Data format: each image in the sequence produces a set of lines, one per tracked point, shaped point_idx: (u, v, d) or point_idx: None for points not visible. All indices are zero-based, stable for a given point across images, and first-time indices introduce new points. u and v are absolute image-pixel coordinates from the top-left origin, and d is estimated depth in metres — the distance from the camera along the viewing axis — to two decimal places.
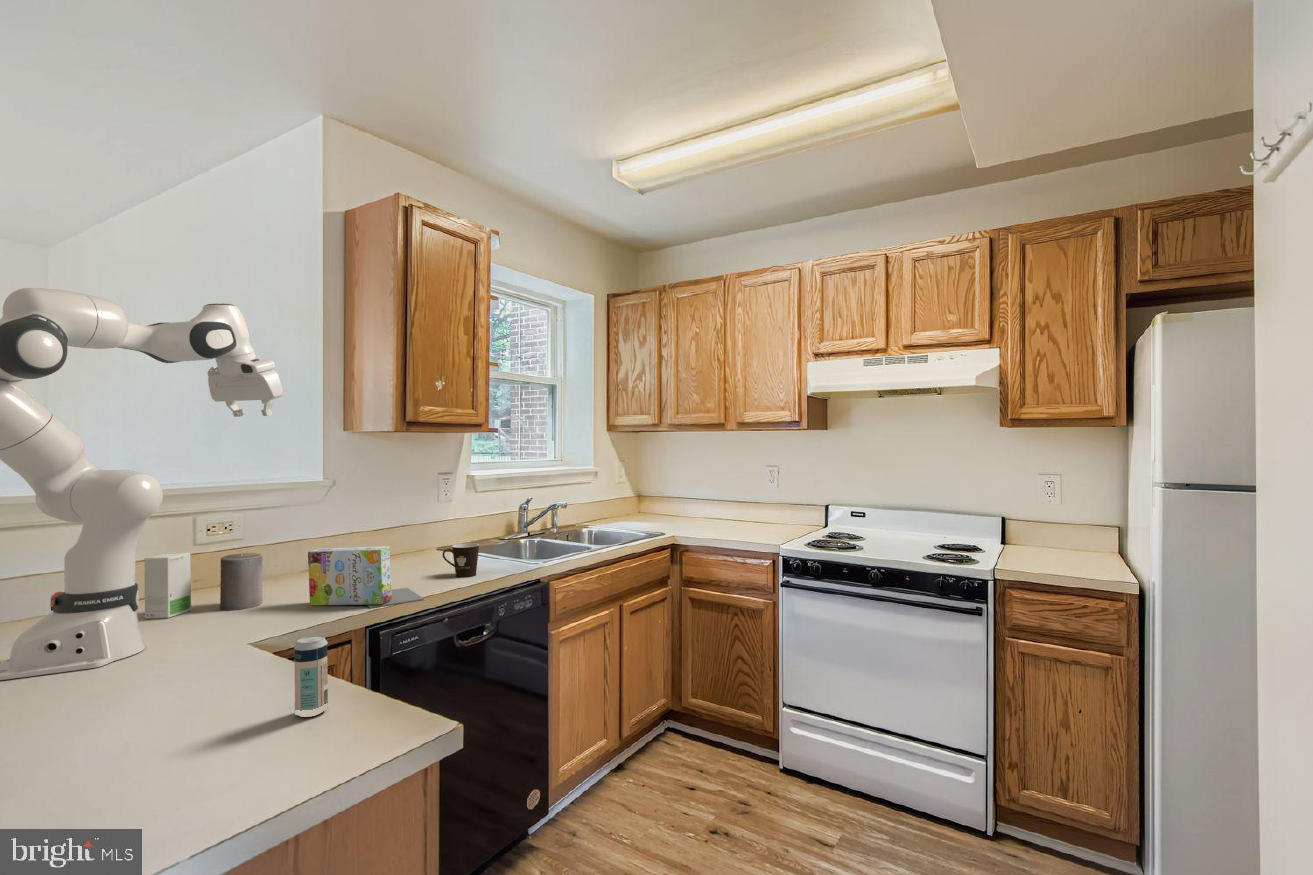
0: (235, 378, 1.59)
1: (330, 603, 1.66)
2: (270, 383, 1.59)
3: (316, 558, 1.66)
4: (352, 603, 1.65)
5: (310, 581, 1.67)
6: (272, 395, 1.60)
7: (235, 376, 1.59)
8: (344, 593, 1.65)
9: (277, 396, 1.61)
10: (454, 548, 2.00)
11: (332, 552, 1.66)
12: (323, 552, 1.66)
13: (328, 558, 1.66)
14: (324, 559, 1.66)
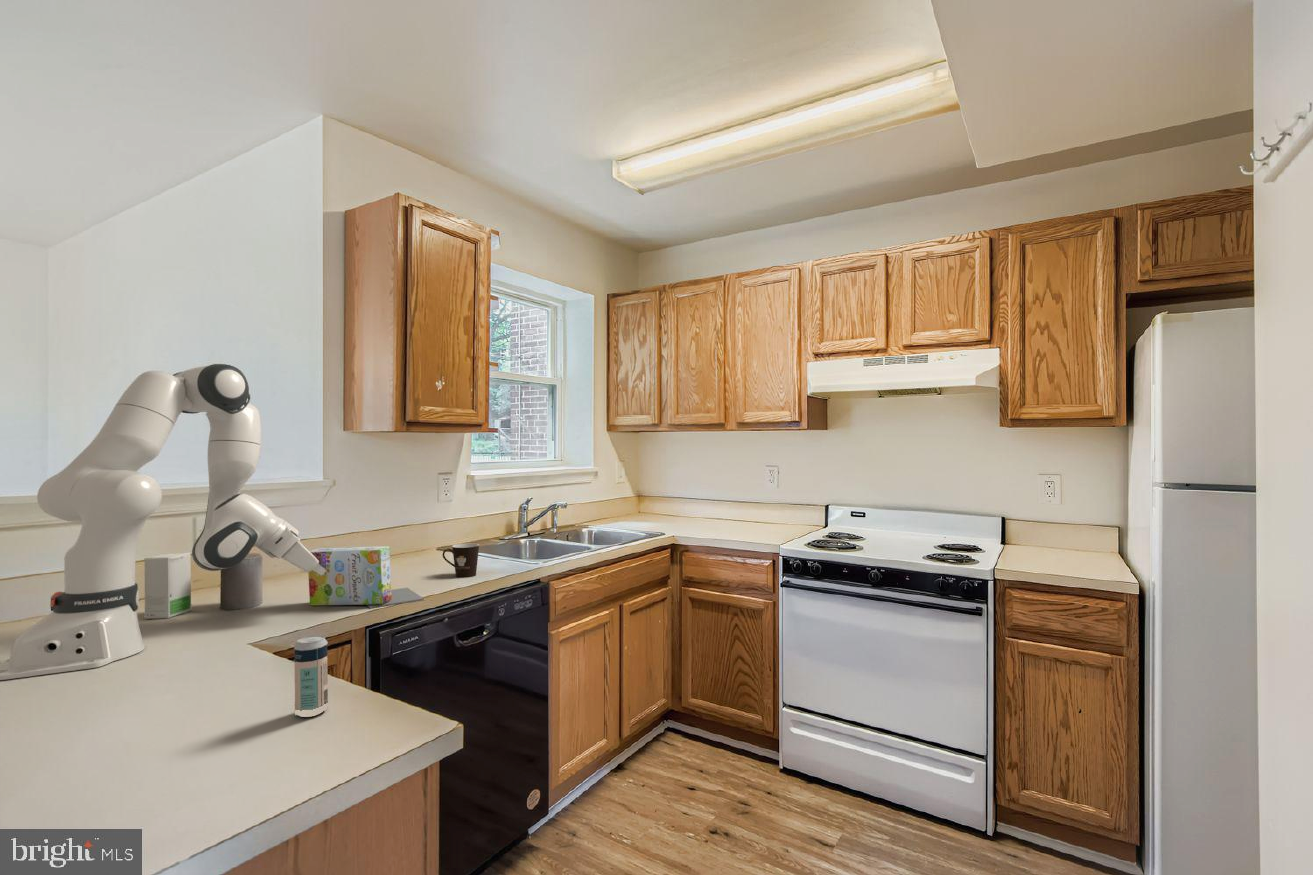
0: None
1: (330, 603, 1.66)
2: (297, 561, 1.52)
3: None
4: (352, 603, 1.65)
5: (310, 581, 1.67)
6: (305, 570, 1.53)
7: None
8: (344, 593, 1.65)
9: (312, 567, 1.54)
10: (454, 548, 2.00)
11: (332, 552, 1.66)
12: (323, 552, 1.66)
13: (328, 558, 1.66)
14: (324, 559, 1.66)
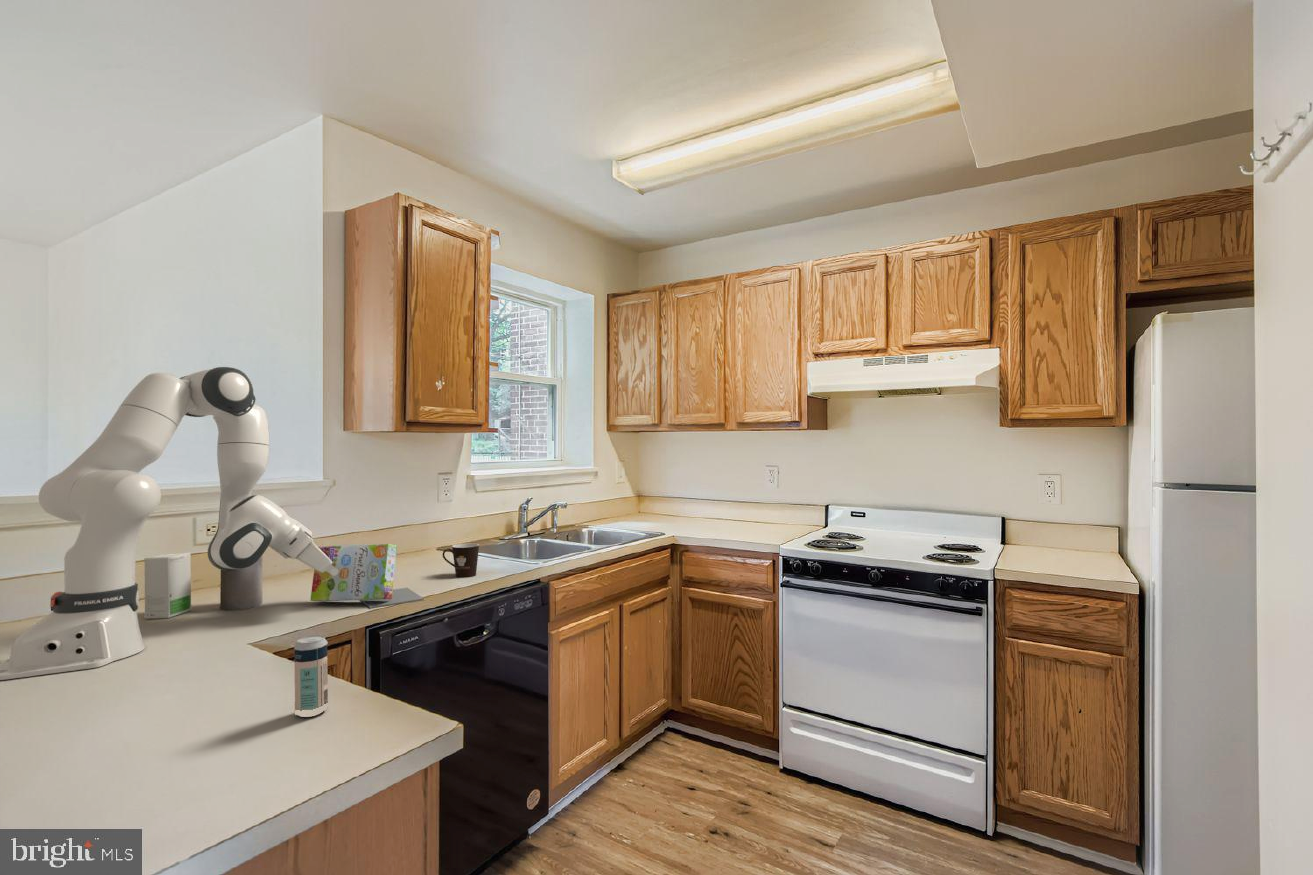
0: None
1: (331, 598, 1.66)
2: (311, 562, 1.54)
3: None
4: (352, 598, 1.66)
5: (314, 576, 1.69)
6: (319, 571, 1.55)
7: None
8: (346, 587, 1.66)
9: (326, 568, 1.56)
10: (454, 548, 2.00)
11: (341, 547, 1.70)
12: (332, 547, 1.70)
13: (336, 552, 1.70)
14: (332, 553, 1.70)
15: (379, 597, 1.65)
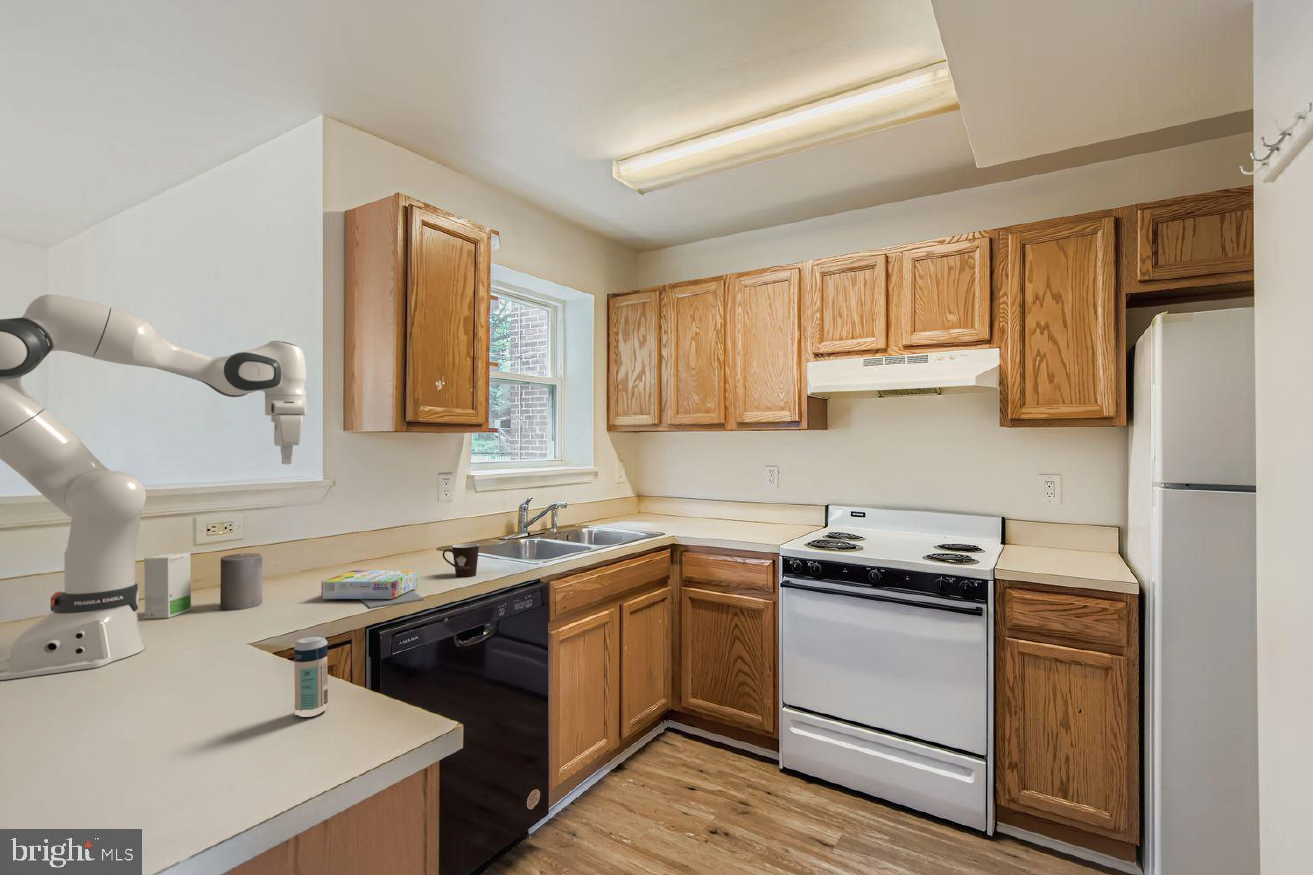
0: (272, 419, 1.48)
1: (342, 580, 1.72)
2: (284, 427, 1.42)
3: (356, 571, 1.84)
4: (364, 581, 1.71)
5: (337, 576, 1.78)
6: (282, 440, 1.42)
7: (273, 417, 1.48)
8: (363, 577, 1.74)
9: (289, 443, 1.43)
10: (454, 548, 2.00)
11: None
12: None
13: (367, 571, 1.84)
14: (363, 571, 1.84)
15: (390, 581, 1.70)
